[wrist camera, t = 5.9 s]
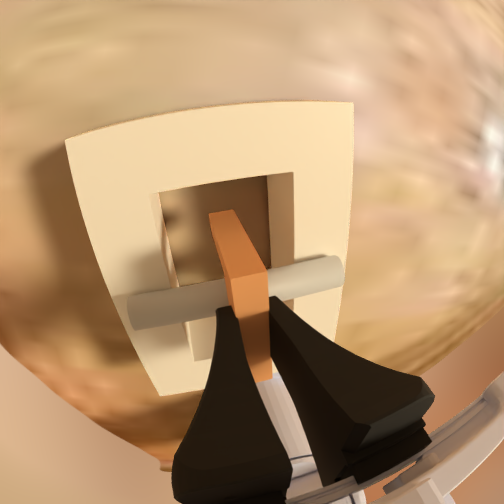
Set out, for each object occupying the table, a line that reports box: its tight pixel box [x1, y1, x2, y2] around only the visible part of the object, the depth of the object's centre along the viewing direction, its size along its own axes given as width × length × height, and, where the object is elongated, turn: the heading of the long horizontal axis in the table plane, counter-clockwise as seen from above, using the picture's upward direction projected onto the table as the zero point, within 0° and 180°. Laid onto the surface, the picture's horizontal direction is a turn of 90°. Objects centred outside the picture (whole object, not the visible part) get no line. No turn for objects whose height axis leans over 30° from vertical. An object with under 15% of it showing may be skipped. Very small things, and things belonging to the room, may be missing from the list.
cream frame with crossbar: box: [65, 100, 354, 396], centre depth 15 cm, size 16×12×6 cm
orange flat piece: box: [209, 209, 273, 383], centre depth 13 cm, size 6×1×6 cm, turn 4°
